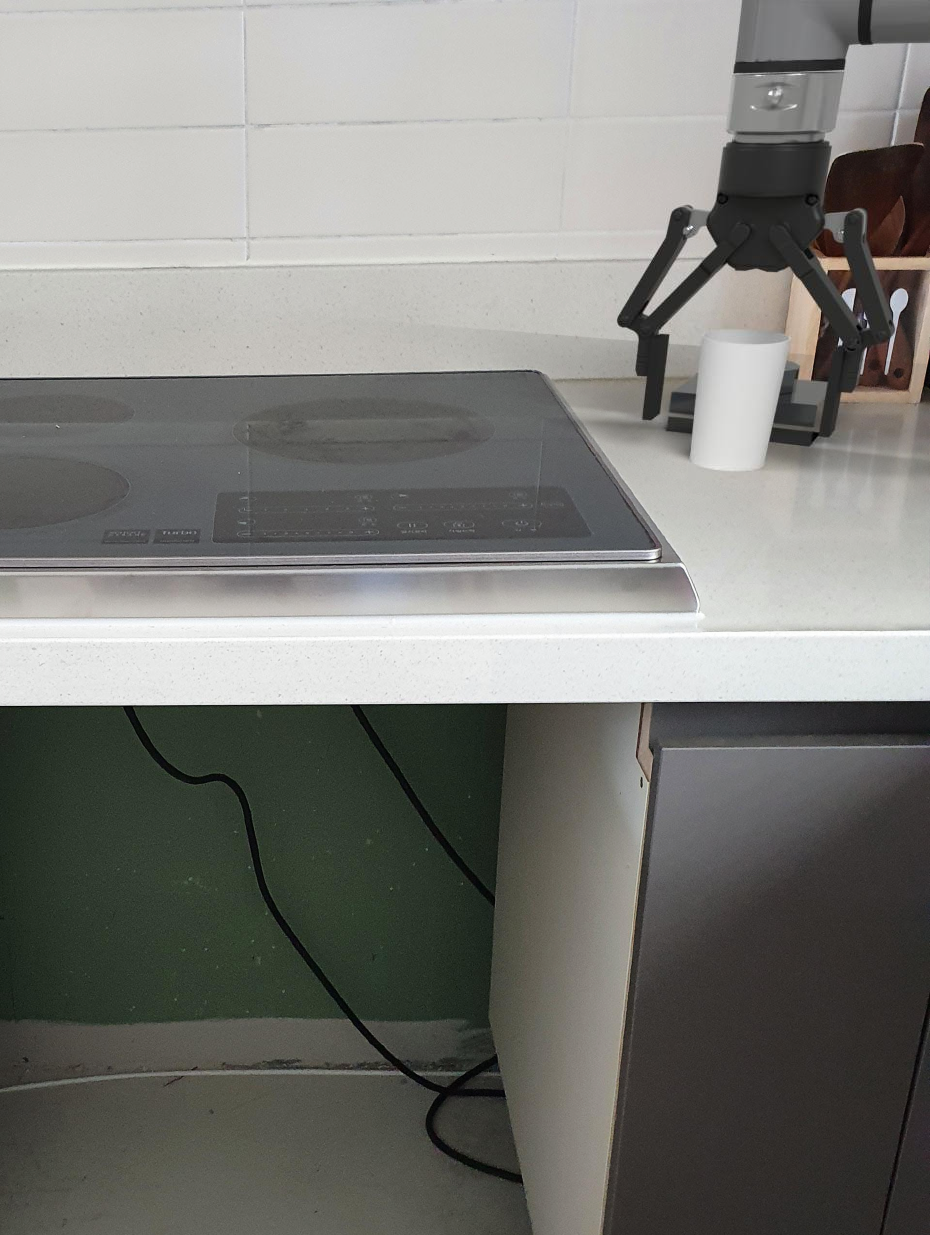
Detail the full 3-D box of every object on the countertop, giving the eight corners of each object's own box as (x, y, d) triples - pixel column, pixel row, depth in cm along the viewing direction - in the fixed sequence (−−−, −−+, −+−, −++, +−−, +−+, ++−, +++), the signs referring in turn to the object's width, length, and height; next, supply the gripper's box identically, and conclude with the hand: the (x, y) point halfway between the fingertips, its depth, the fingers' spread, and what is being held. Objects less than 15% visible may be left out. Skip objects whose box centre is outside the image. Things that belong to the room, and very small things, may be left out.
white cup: (777, 473, 106) (800, 344, 102) (690, 471, 108) (708, 344, 103) (761, 452, 112) (781, 329, 108) (678, 450, 113) (695, 328, 109)
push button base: (830, 421, 121) (842, 359, 119) (809, 447, 113) (821, 381, 111) (694, 408, 127) (702, 348, 124) (666, 431, 119) (674, 368, 117)
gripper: (595, 141, 102) (569, 419, 112) (962, 139, 90) (899, 452, 99) (623, 136, 108) (597, 401, 117) (973, 134, 96) (912, 430, 105)
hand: (735, 425), depth 108 cm, fingers open, 13 cm apart
